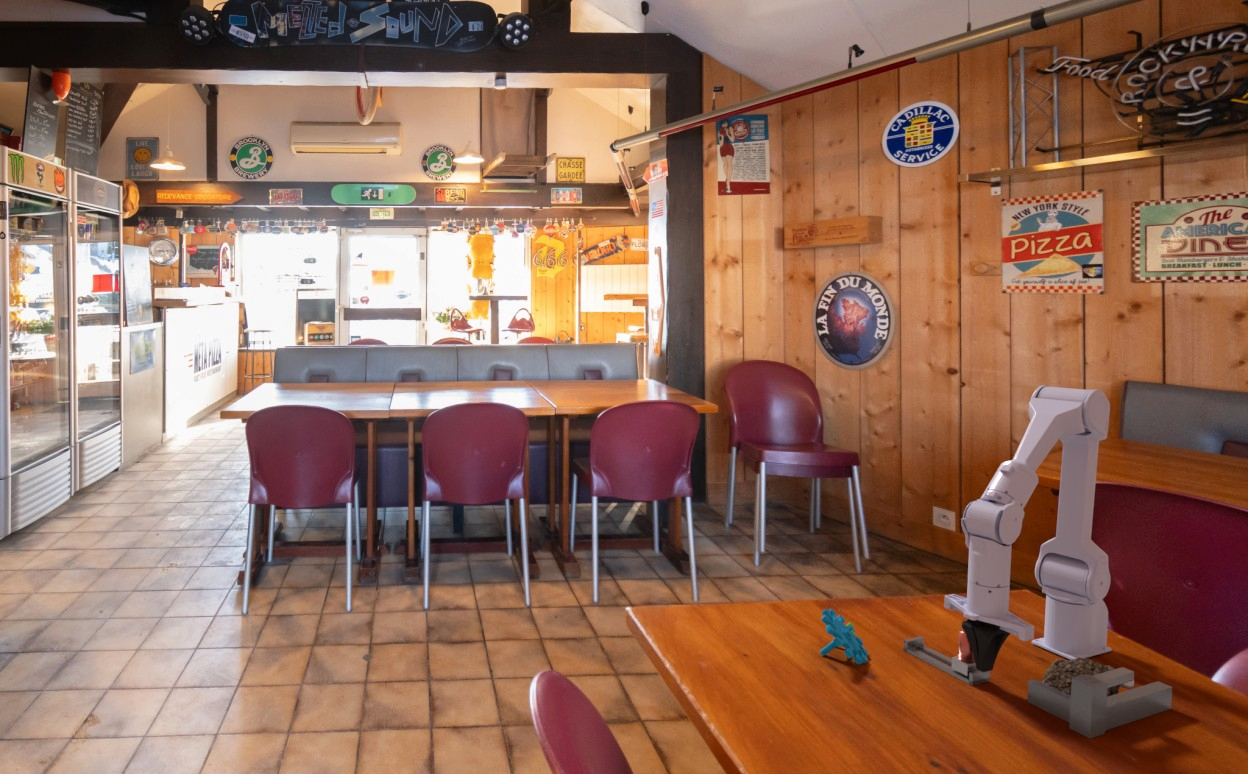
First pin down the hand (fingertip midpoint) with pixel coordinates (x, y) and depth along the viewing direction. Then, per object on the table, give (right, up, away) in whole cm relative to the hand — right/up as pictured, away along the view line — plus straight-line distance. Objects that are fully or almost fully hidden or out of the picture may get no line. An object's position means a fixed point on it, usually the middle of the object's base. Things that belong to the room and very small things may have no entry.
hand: (984, 669), depth 123 cm
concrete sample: (+11, -3, -5) cm, 13 cm away
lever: (-1, -2, +3) cm, 4 cm away
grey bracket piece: (+13, -3, -7) cm, 15 cm away
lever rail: (-3, -2, +7) cm, 8 cm away
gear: (-18, -2, +10) cm, 21 cm away
